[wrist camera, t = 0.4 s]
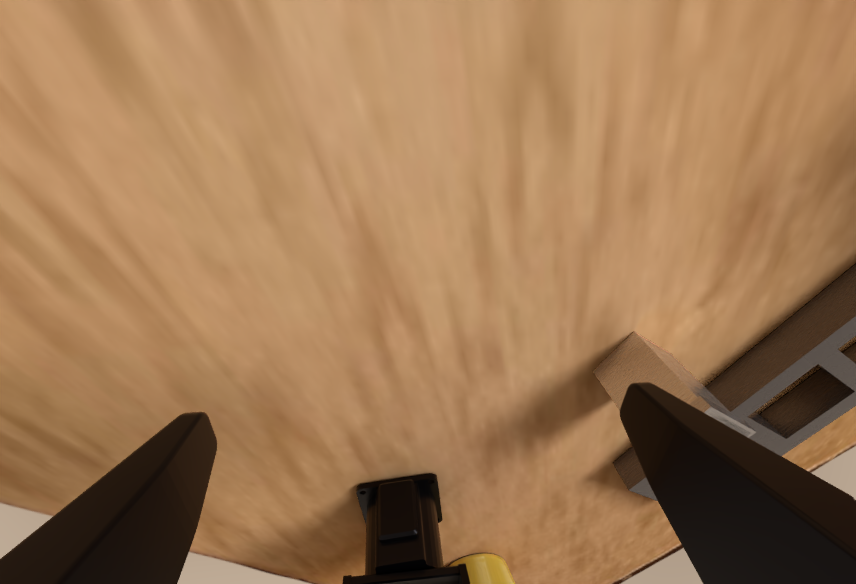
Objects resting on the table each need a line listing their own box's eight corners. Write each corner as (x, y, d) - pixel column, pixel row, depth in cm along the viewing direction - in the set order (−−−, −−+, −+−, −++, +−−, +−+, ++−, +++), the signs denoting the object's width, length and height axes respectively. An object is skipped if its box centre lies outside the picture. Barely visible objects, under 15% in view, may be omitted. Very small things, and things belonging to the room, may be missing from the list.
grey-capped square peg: (628, 392, 29) (693, 477, 23) (588, 372, 28) (646, 457, 22) (674, 351, 28) (756, 432, 22) (634, 327, 26) (710, 406, 20)
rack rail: (676, 488, 37) (694, 514, 34) (612, 462, 33) (628, 490, 31) (968, 277, 27) (1018, 295, 25) (917, 212, 24) (970, 227, 22)
